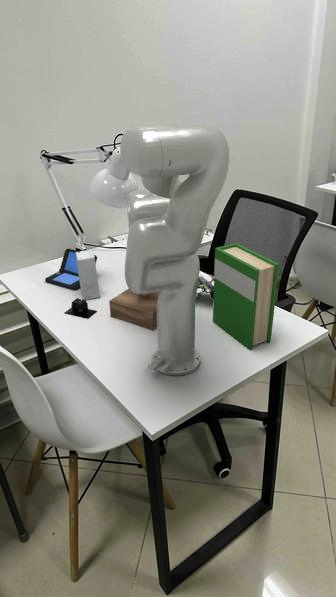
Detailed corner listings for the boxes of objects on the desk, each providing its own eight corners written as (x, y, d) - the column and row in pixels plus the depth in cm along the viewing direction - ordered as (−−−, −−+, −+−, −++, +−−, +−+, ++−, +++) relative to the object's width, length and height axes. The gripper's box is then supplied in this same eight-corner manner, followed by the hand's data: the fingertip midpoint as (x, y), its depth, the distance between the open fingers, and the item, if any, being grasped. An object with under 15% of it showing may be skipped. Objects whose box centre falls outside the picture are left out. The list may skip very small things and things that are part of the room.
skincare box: (100, 298, 146) (96, 257, 139) (82, 300, 145) (77, 259, 138) (97, 287, 153) (93, 248, 146) (80, 290, 152) (75, 250, 145)
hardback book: (270, 342, 121) (279, 263, 109) (249, 350, 117) (256, 270, 106) (232, 315, 134) (236, 243, 123) (212, 322, 131) (215, 248, 120)
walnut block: (153, 331, 128) (152, 314, 125) (110, 317, 135) (109, 301, 132) (180, 308, 139) (180, 292, 137) (140, 297, 147) (139, 281, 144)
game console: (43, 282, 159) (39, 259, 154) (69, 269, 169) (66, 247, 165) (75, 292, 151) (72, 268, 147) (100, 277, 161) (98, 255, 157)
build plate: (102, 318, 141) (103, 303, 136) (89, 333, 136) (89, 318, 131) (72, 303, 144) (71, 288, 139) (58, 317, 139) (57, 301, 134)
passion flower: (211, 313, 147) (230, 294, 138) (185, 317, 141) (203, 297, 132) (198, 285, 151) (215, 265, 142) (172, 288, 145) (189, 267, 136)
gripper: (133, 245, 117) (136, 304, 125) (170, 228, 129) (171, 283, 137) (112, 240, 121) (117, 297, 129) (150, 224, 133) (152, 277, 141)
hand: (145, 289), depth 133 cm, fingers closed on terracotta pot, 5 cm apart
